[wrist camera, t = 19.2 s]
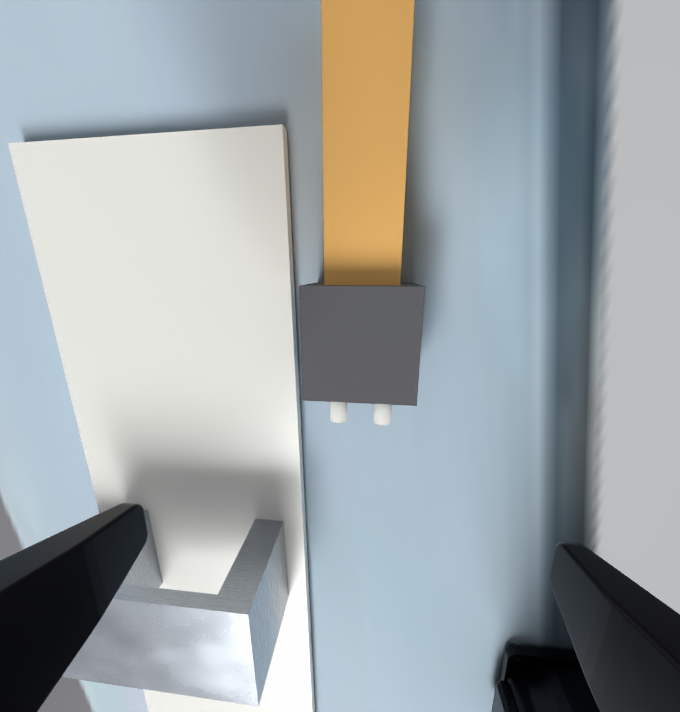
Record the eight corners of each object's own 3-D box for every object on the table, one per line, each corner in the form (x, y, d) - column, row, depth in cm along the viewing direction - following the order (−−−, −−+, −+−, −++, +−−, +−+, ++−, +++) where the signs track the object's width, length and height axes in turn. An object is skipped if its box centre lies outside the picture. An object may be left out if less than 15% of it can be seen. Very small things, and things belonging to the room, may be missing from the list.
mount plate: (286, 131, 12) (282, 124, 12) (317, 762, 22) (315, 775, 21) (24, 148, 13) (8, 143, 13) (163, 736, 23) (157, 748, 23)
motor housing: (283, 520, 16) (247, 614, 12) (289, 596, 17) (258, 706, 13) (89, 505, 17) (-9, 584, 13) (107, 576, 19) (24, 671, 14)
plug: (429, 12, 11) (451, -100, 8) (405, 405, 15) (414, 444, 11) (314, 22, 11) (287, -81, 8) (319, 401, 15) (303, 437, 12)
